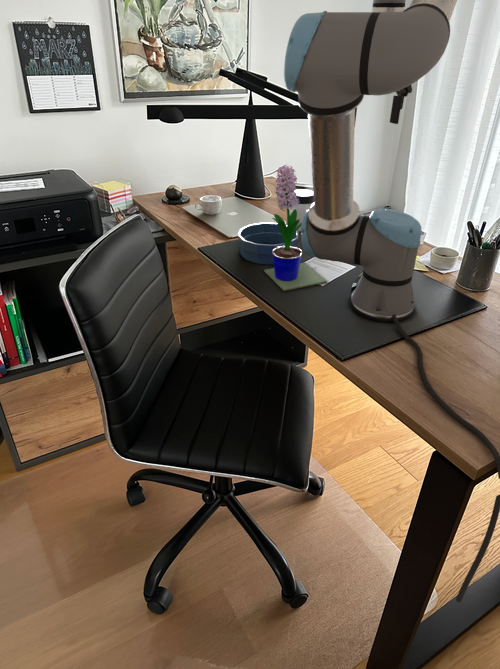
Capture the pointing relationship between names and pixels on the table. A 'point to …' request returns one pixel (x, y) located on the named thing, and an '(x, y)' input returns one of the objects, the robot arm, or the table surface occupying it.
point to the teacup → (210, 204)
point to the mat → (298, 278)
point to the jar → (303, 203)
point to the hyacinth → (287, 227)
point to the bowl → (261, 251)
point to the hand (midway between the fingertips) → (372, 125)
